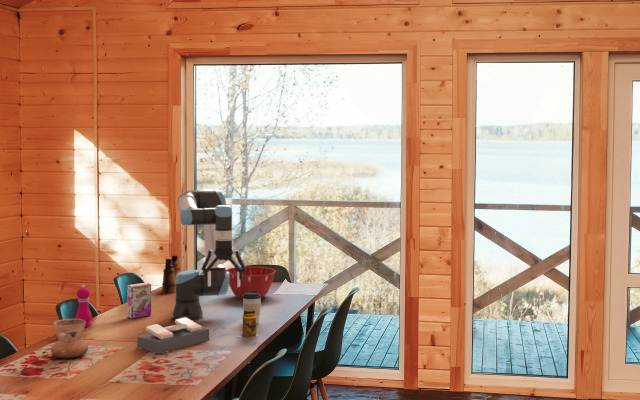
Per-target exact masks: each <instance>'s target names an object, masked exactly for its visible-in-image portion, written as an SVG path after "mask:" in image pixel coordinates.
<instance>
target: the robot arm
mask: <svg viewBox="0 0 640 400" xmlns="http://www.w3.org/2000/svg"><path fill="white" fill-rule="evenodd" d="M176 206H177V209H178V210H179V213H180V214H179V218H180V219H179V221H180V224H181V225H182V226H197V225H198V226H201V225H203V229H204V230H203V231H204V233H203V234H204V254H205V255H204V256H205V257H204V258H205V260H204V262H203V264H202V267H201V269H200V270H201V271H202V272H200V271H199V270H198V269H188V270H187V269H186V270H183V271H180V273H178V274H177V275H176V277H175V293H174V295H175V296H174V297H175V304H174V306H173V311H172V313H171V319H172V320H173V321H175V320H176V319H181V318H185V317H186V318H188V319H190V320H192V321H197V320H200V319H203V318H204V315H203V309H202V306H201V304H200V297H208V296H209V297H211V296H213V297H214V296H217V297H218V296H225V295H226V294H227V293H228V290H229V287H230V285H229V272H228V271H226V270H227V267H226V266H225V265H224V264H223V262H224V261H229V262H230V263H231V264H232V265H233V266H234V268H236V269H237V270H238V271H239V272H238V273H237V287H240V279H242V273H243V271H246V270H247V269H246V267H247V266H246V265H245V263H244V261H243V258H242V257H241V255H240V250H238V249H237V250H233V240H232V239H233V208H232V205H229V204H228V205H227V201H226V197H225V193H224V192H223V190H221V189H215V188H213V189H190V190H188V191H187V190H186V191H184V192H183V193H182V194H180V196H179V197H177V201H176ZM233 254H234V256H235V257H236V259H237V261H238V262H237V261H235V258H234V257H233ZM238 263H239V264H238ZM241 267H242V269H241Z"/></svg>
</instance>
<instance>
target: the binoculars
mask: <svg viewBox="0 0 640 400" xmlns="http://www.w3.org/2000/svg"><path fill="white" fill-rule="evenodd" d="M178 259H179V257H178V255H172V256H171V258H165V265H164V269H163V271H162V272H163V273H162V274H163V275H162V288H161V294H164V295H171V294H172V295H173V294H175V277H176V275H177V274H178V273H180V272H181V267H180V265H179V262H178Z"/></svg>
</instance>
